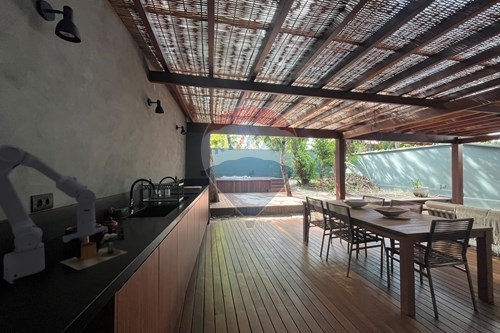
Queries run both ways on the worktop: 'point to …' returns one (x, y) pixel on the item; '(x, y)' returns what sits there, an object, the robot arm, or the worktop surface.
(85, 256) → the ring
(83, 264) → the post board
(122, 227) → the valve
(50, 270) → the worktop surface
